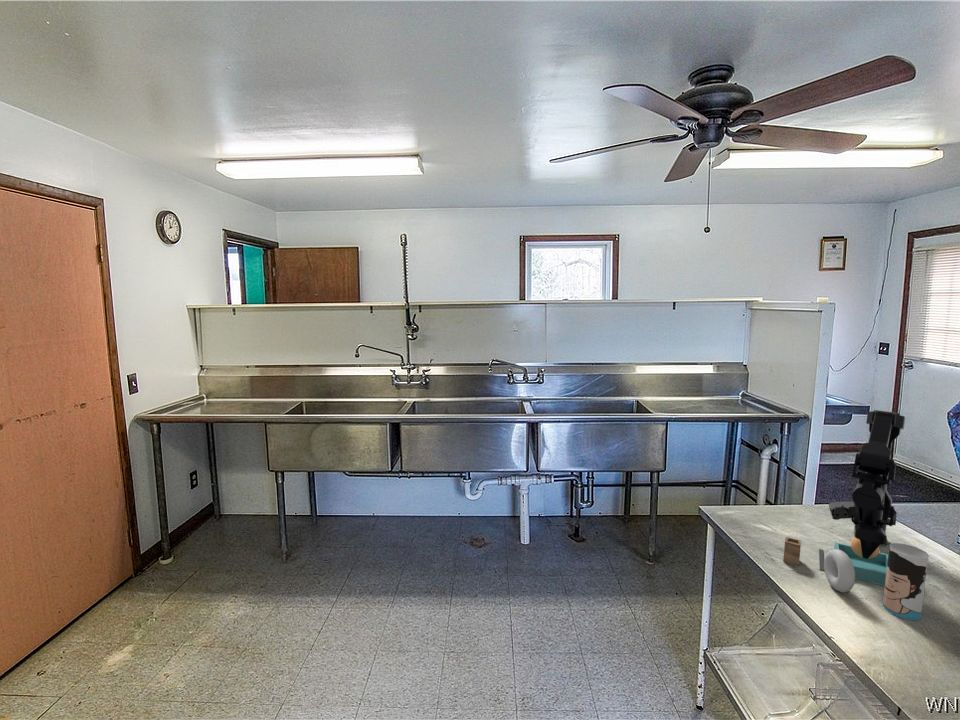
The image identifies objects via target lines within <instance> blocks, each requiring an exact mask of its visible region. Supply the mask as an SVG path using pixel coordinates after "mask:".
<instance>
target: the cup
mask: <svg viewBox="0 0 960 720" xmlns="http://www.w3.org/2000/svg"><path fill="white" fill-rule="evenodd" d="M887 554H888V563H887V571H886V580H885V586H884V590H883V598H882V607H883V608H884V610H885V611H887V612H888V613H890V614H891V615H893V616H896V617H898V618H900V619H904V620H907V621H908V620H909V621H918V620H920V619H921V617H922V609H923V605H924V604H923V602H924V595H925V586H926V579H927V574H928V573H927V572H928V571H927V570H928V565H929V564H928V563H929V557H930V556H929V553H927V551H925V550H923V549H921V548H919V547H917V546H914V545H911V544H907V543H899V542H896V543H895V542H894V543H890V544H889V548H888V553H887Z"/></svg>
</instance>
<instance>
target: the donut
mask: <svg viewBox="0 0 960 720" xmlns="http://www.w3.org/2000/svg"><path fill="white" fill-rule="evenodd" d="M824 556H825V557H824V573H825V574H824V575H825V577H826V579H827V581H828V583H829V585H830V587H832V588H833V589H834V590H836V591H837V592H840V593H848V592H849V591H852V589H853V588H854V587H855V582H856V578H855V570H854V567H853V563H852V561H851V559H850V558H849V556H848V555H847V554H846V553H844V552H843V551H841V550H838V549H834V548H833V549H830V550H829V551H828V552H827V553H826V554H825V555H824Z"/></svg>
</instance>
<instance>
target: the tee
mask: <svg viewBox="0 0 960 720" xmlns="http://www.w3.org/2000/svg"><path fill="white" fill-rule="evenodd" d="M801 542H802V540H801V539H797V538H792V537H788V536H785V538H784V549H783V551H784V552H783V562H784V563H788V564H790V563H791V564H792V565H795V566H799V565H800V557H801V556H800V555H801V548H802V547H801V545H802V543H801ZM783 562H782V563H783ZM791 564H790V565H791ZM799 567H800V566H799Z"/></svg>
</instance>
